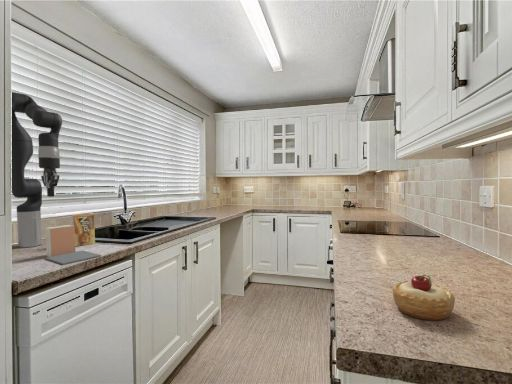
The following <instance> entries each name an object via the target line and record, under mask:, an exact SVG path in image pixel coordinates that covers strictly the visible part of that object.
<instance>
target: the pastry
mask: <svg viewBox="0 0 512 384" xmlns="http://www.w3.org/2000/svg"><path fill="white" fill-rule="evenodd" d="M392 297H393V301H394V303H395V305H396V306H397V308H398V310H400V311H401V313H403V314H405V315H407V316H410V317H413V318H416V319H419V320H425V321H435V322H437V321H443V320H445V319H447V318H448V317H449V316H450V315H451V314H452V312H453V310H454V307H455V302H456V297H455V296H454V294H453V293H452V292H451V291H450V290H449V289H446V288H445V287H443V286H439V285H438V284H432V280H431V276H430V275H429V274H427V273H425V274H423V275H415V276H413V277H412V278H411V279H410V281H407V280H405V281H403V282H402V281H400V282H398V283H396V284H395V285H393V287H392Z"/></svg>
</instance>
